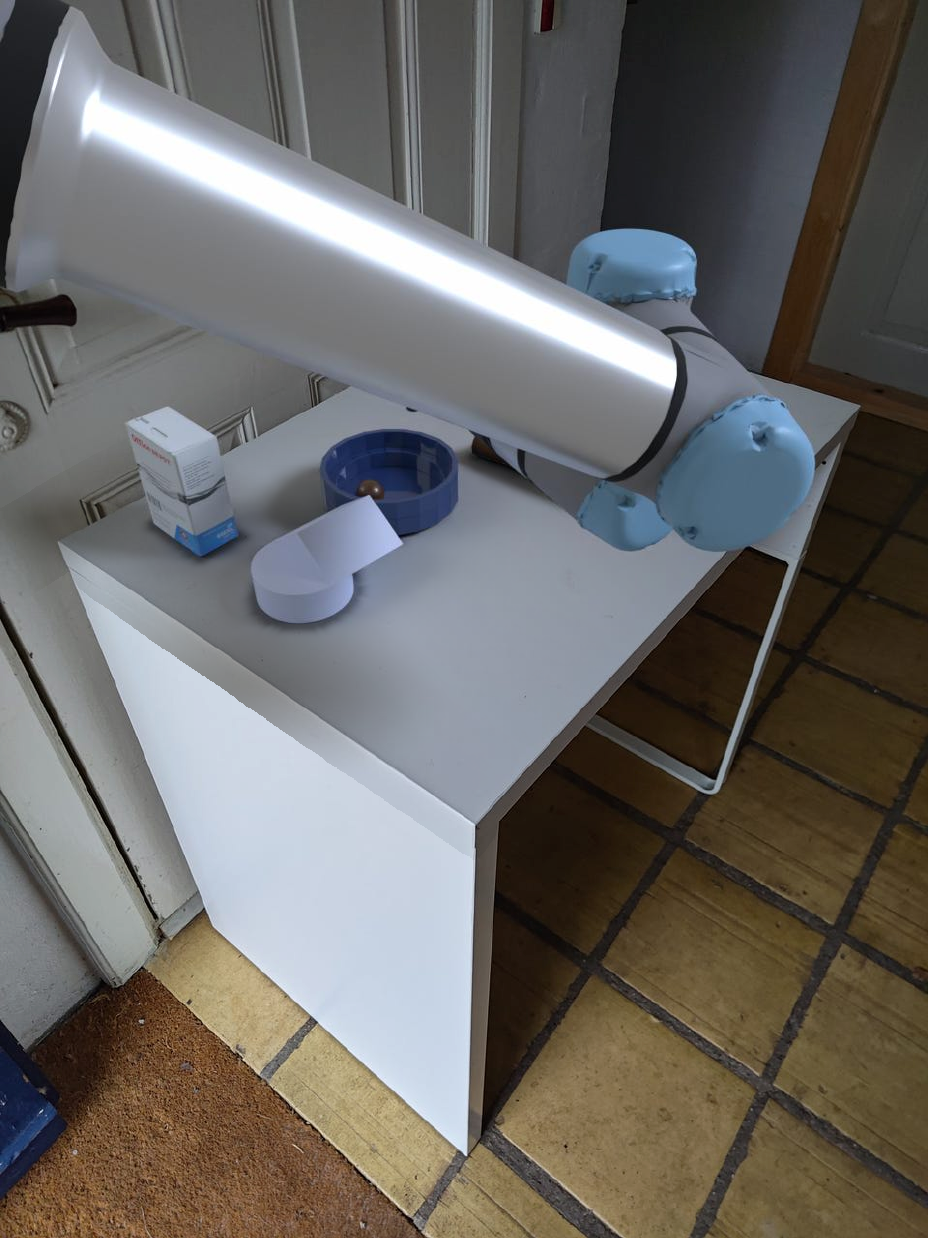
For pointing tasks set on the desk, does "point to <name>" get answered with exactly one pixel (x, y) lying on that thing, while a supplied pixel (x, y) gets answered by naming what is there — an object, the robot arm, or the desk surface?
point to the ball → (370, 489)
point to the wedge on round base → (320, 562)
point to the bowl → (394, 475)
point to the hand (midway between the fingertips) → (383, 308)
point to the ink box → (183, 479)
